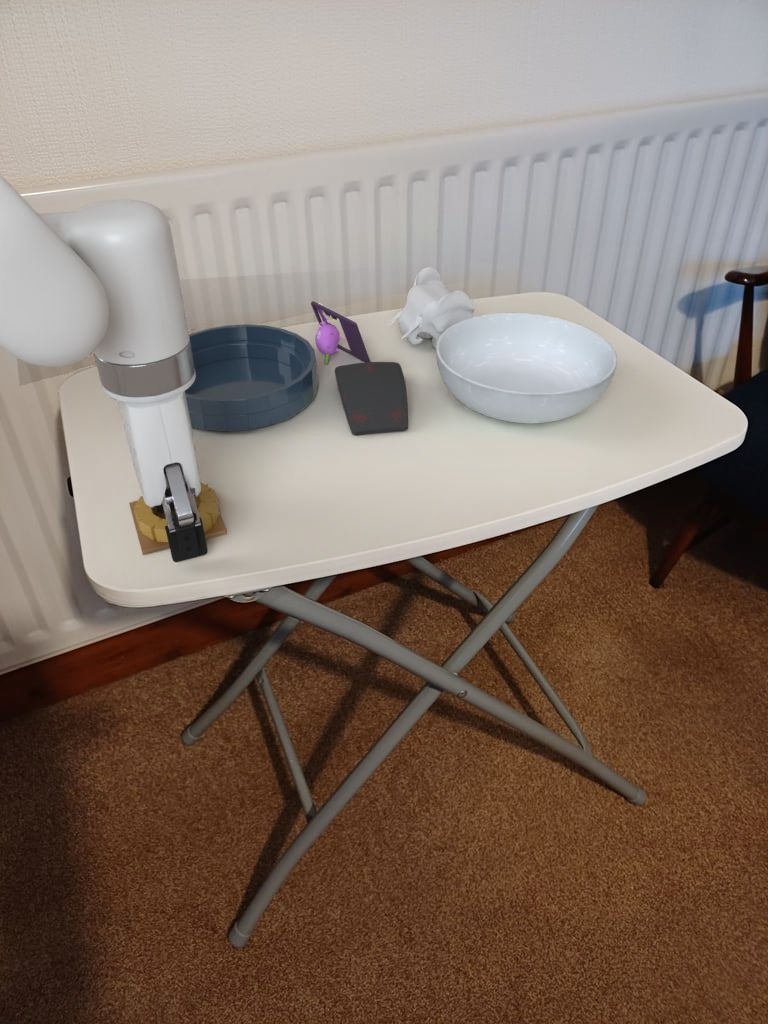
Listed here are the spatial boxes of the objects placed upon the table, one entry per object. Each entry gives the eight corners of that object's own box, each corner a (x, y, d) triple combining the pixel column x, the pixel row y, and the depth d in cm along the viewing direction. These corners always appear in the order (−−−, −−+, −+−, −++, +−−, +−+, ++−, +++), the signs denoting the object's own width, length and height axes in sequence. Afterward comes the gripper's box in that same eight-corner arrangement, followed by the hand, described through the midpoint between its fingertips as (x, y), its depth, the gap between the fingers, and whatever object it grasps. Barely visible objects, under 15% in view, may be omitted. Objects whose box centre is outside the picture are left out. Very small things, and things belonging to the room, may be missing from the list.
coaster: (142, 555, 73) (141, 551, 73) (129, 506, 79) (128, 502, 79) (226, 533, 76) (226, 529, 76) (208, 488, 82) (207, 484, 81)
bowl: (177, 449, 87) (170, 414, 84) (148, 372, 101) (141, 340, 98) (339, 414, 93) (337, 380, 90) (290, 345, 107) (288, 314, 104)
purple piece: (360, 319, 98) (316, 297, 103) (330, 344, 96) (287, 320, 101) (374, 359, 103) (331, 336, 108) (346, 383, 101) (304, 359, 107)
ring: (145, 551, 73) (142, 538, 72) (132, 503, 79) (128, 491, 78) (227, 530, 75) (225, 517, 74) (208, 485, 81) (206, 473, 80)
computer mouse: (395, 374, 100) (395, 345, 98) (415, 431, 90) (415, 401, 87) (332, 379, 99) (331, 350, 97) (345, 437, 89) (344, 407, 86)
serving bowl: (635, 438, 89) (648, 385, 84) (454, 455, 86) (458, 401, 82) (573, 353, 105) (581, 305, 100) (419, 365, 102) (420, 316, 98)
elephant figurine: (380, 335, 109) (379, 273, 104) (457, 320, 113) (460, 259, 107) (408, 365, 102) (409, 300, 97) (489, 348, 106) (494, 285, 100)
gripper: (86, 328, 69) (128, 490, 80) (113, 427, 56) (158, 602, 67) (172, 314, 71) (201, 473, 82) (216, 406, 58) (243, 579, 70)
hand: (181, 530), depth 75 cm, fingers open, 7 cm apart
